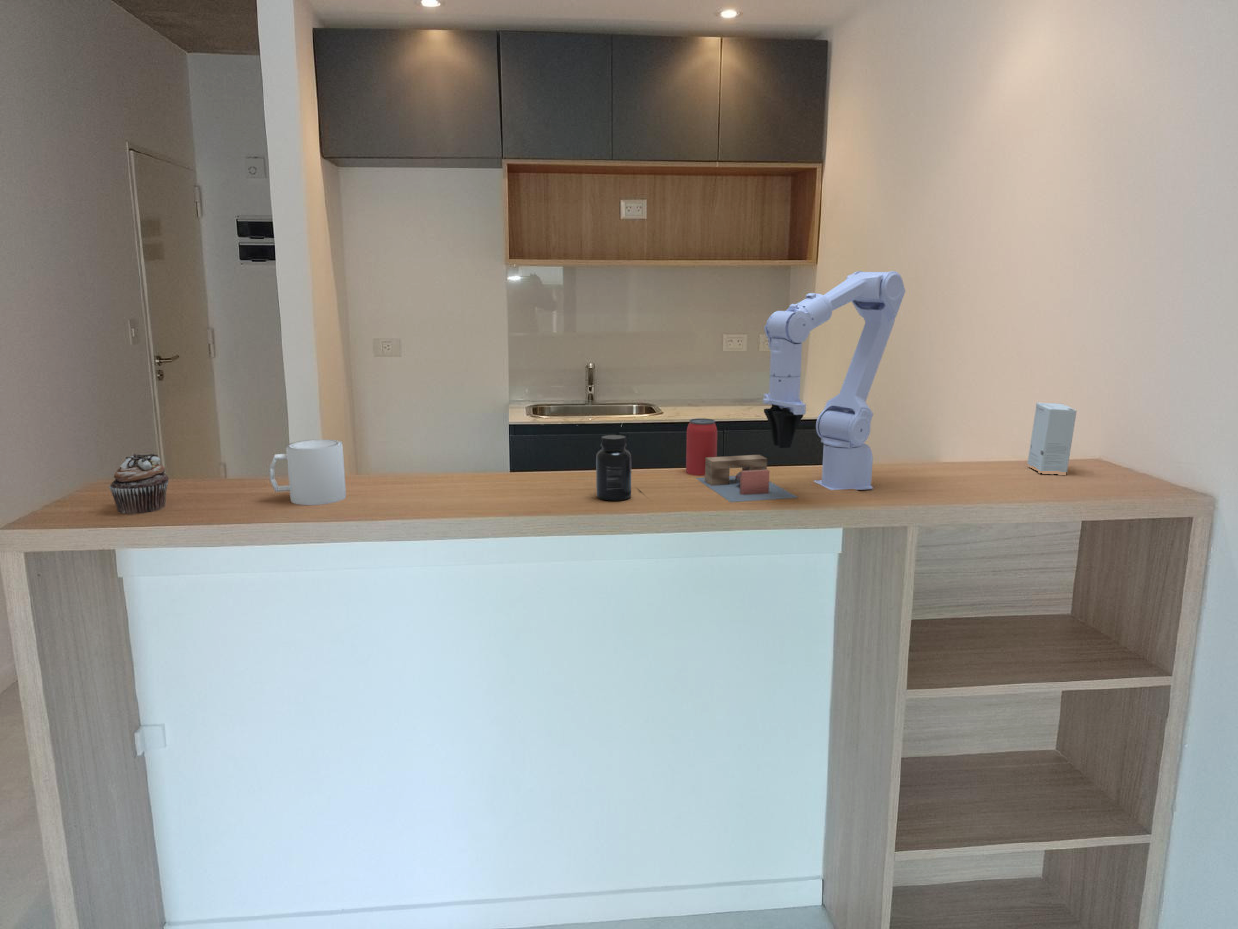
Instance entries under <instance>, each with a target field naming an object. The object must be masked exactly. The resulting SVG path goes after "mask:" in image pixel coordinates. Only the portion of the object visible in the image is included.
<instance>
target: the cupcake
mask: <svg viewBox="0 0 1238 929" xmlns="http://www.w3.org/2000/svg"><path fill="white" fill-rule="evenodd" d="M158 456H159V455H158V454H154V453H151V454H137V453H133V454H132V456H125V460H124V462H122V464H120V465H119V467H118V469H117V471H115V473H114V475H113V478H114V480H113V481H111V483H110V484H109V485H108V488H109V489H110V492H111V495H112V498H113V500H114V503H115V507H116V510H117V512H118V513H120V514H124V515H126V514H127V515H136V514H146V513H152V512H157V511H159V510H162V509H163V508H165V506H166V501H167V489H168V484H169V476H168V475H167V474H166V468H165V467H164V466H163V465H162V464H161V458H160V457H158Z"/></svg>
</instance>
